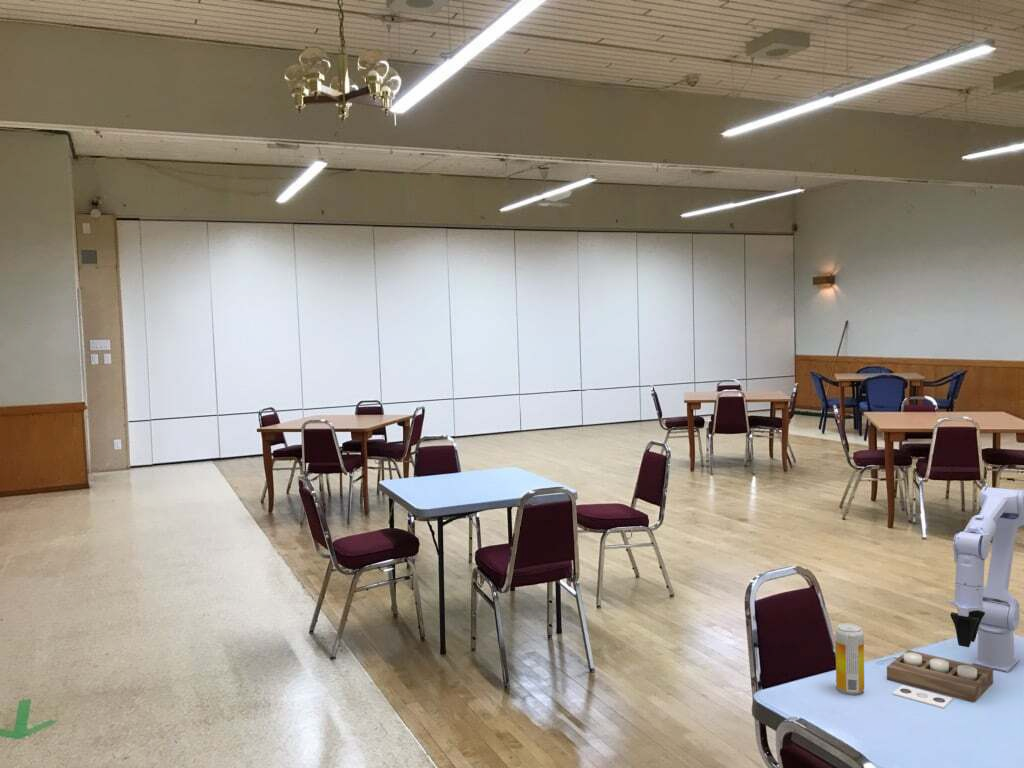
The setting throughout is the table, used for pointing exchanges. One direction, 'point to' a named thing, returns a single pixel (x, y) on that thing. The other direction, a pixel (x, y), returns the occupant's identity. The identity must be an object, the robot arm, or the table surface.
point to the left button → (913, 659)
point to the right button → (967, 672)
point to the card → (922, 696)
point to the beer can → (849, 658)
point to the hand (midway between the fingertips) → (966, 643)
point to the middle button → (939, 665)
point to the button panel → (940, 678)
